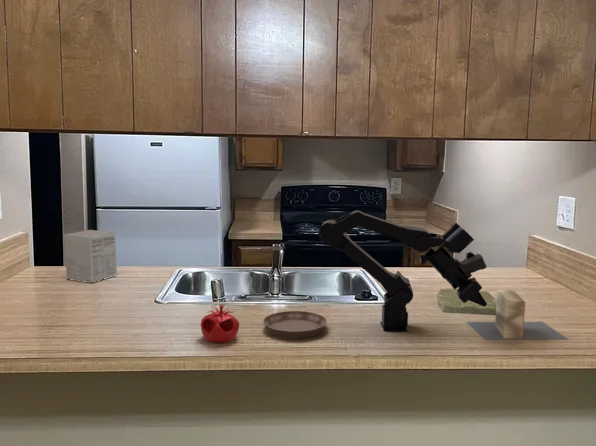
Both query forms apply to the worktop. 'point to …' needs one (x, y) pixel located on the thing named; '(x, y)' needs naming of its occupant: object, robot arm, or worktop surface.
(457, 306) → the decorative tile
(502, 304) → the maple block
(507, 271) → the worktop surface
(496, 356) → the worktop surface
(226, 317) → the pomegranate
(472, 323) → the rubber mat
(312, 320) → the plant saucer
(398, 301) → the robot arm
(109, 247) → the supplement box
